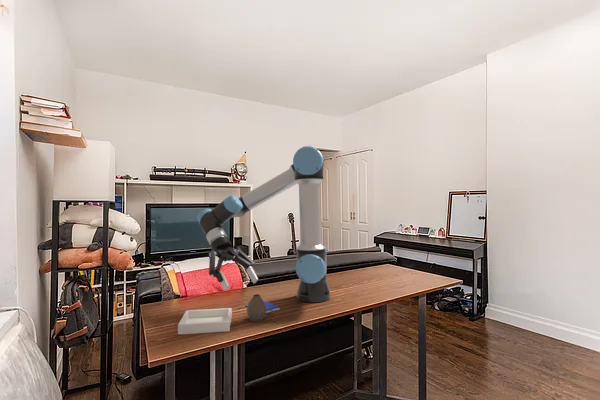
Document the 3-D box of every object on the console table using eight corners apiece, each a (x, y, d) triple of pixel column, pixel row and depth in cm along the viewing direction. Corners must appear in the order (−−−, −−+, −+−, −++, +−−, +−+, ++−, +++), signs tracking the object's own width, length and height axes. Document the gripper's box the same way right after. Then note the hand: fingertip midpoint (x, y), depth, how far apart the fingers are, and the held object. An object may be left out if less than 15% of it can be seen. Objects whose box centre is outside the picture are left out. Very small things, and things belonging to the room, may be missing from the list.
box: (231, 316, 114) (231, 307, 114) (229, 331, 100) (229, 321, 100) (186, 318, 111) (186, 310, 111) (177, 334, 98) (177, 325, 98)
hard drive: (245, 303, 126) (262, 311, 117) (262, 299, 131) (280, 306, 122) (245, 307, 126) (262, 315, 117) (262, 303, 131) (280, 310, 122)
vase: (250, 324, 106) (250, 299, 106) (244, 318, 112) (244, 293, 112) (269, 321, 109) (269, 296, 109) (262, 315, 115) (262, 291, 116)
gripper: (239, 244, 136) (262, 284, 126) (187, 250, 117) (208, 297, 107) (247, 233, 133) (271, 273, 123) (194, 237, 114) (218, 285, 104)
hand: (242, 284), depth 115 cm, fingers open, 13 cm apart
